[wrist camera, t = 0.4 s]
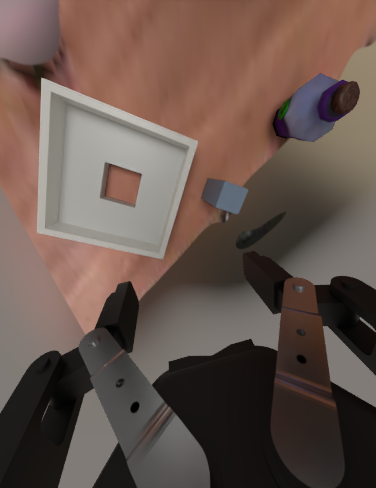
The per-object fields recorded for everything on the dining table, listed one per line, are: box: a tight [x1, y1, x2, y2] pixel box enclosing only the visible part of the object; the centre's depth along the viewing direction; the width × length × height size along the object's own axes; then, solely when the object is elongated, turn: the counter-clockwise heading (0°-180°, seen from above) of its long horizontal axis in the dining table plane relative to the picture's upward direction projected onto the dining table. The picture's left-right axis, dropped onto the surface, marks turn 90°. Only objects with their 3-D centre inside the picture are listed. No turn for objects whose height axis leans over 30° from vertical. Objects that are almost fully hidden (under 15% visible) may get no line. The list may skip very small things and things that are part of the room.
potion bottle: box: [273, 73, 360, 142], centre depth 27 cm, size 9×9×12 cm
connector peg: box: [201, 178, 248, 214], centre depth 31 cm, size 4×4×10 cm
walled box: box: [37, 78, 198, 259], centre depth 30 cm, size 20×20×7 cm
